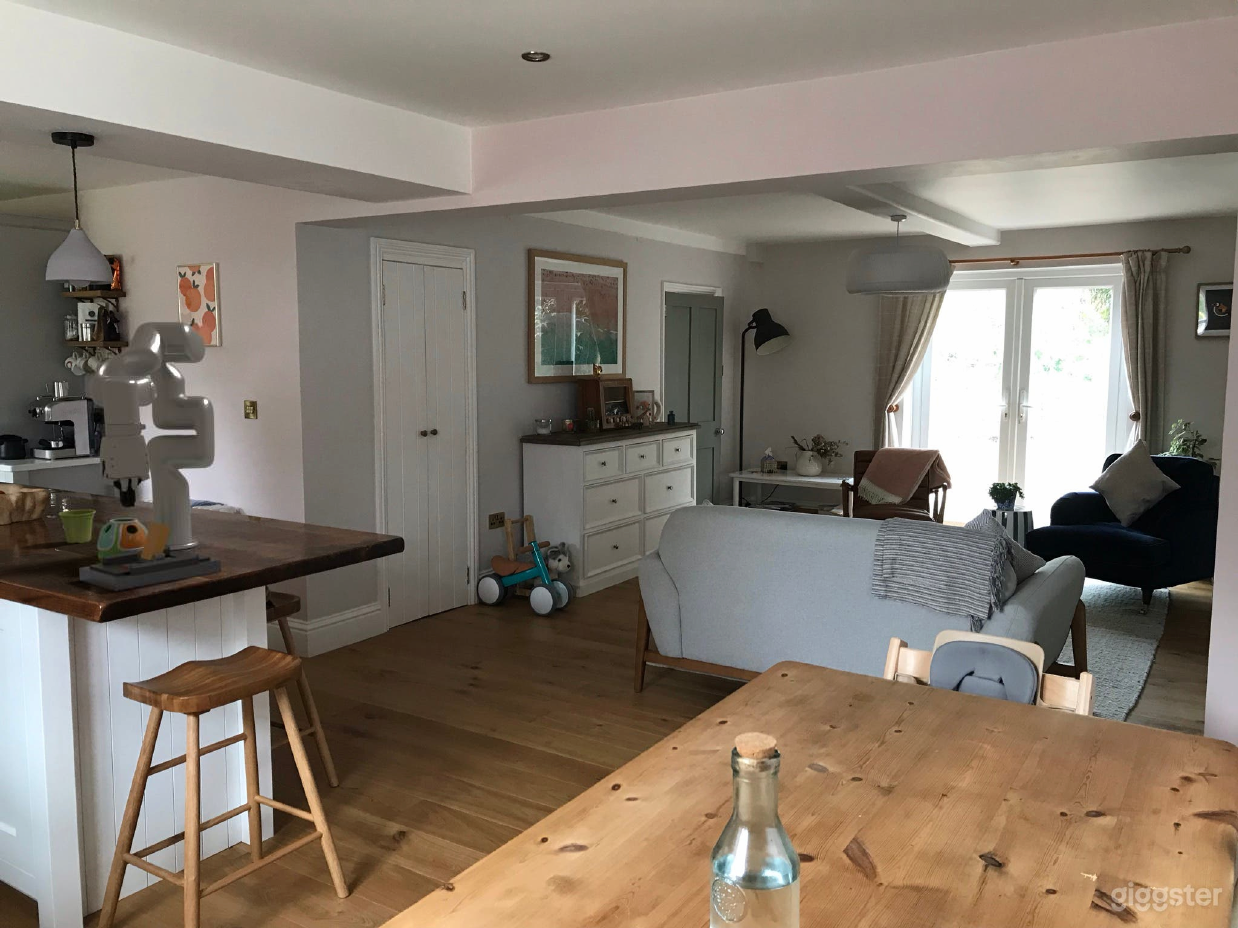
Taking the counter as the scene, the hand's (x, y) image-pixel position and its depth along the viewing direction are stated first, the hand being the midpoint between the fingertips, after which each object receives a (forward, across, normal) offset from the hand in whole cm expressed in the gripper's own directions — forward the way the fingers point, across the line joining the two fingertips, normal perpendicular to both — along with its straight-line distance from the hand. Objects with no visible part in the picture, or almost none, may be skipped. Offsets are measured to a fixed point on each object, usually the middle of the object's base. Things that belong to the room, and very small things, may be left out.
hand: (128, 506), depth 236 cm
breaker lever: (+13, -4, +1) cm, 14 cm away
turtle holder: (+19, -6, -18) cm, 27 cm away
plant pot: (+20, -13, -59) cm, 63 cm away
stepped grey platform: (+15, -4, +1) cm, 15 cm away
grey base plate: (+18, -4, +1) cm, 18 cm away
